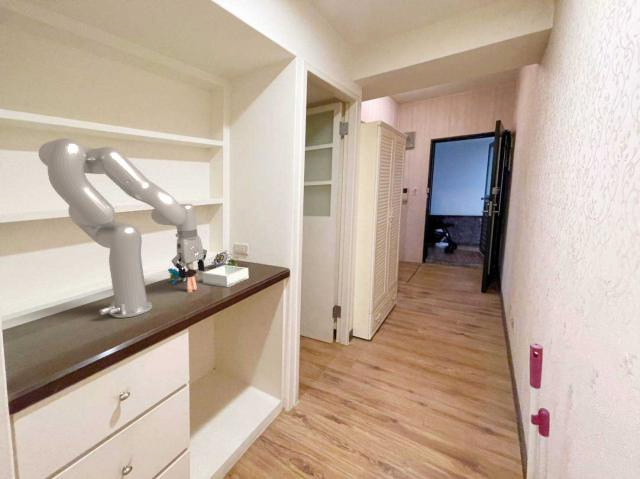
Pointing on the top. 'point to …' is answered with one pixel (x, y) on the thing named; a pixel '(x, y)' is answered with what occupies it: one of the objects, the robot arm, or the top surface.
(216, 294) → the top surface
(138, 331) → the top surface
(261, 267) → the top surface
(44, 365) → the top surface
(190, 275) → the grandmother figurine
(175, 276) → the blue dinosaur toy
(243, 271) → the bin
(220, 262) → the passion flower
